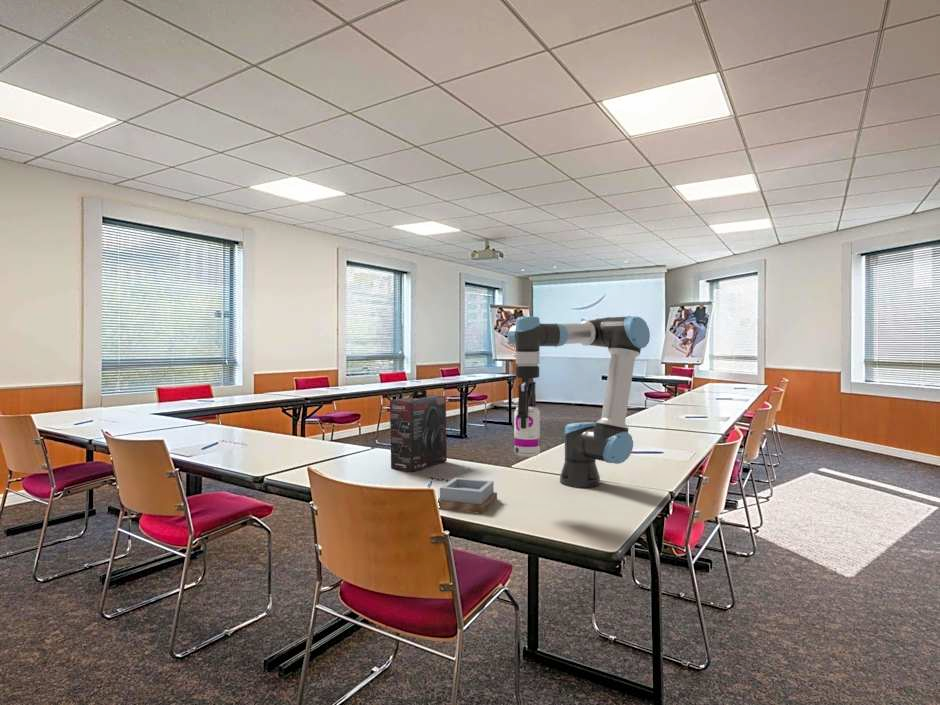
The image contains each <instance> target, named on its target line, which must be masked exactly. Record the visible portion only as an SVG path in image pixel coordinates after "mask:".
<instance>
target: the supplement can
mask: <svg viewBox="0 0 940 705" xmlns="http://www.w3.org/2000/svg"><path fill="white" fill-rule="evenodd" d="M513 415H514V416H513V417H514V418H513V419H514V426H513V427H514V430H513V432H514V435H513V436H514V439H513V440H514V441H513V442H514V444H513V445H514V448H513V449H514V450H513V451H514V453H515V454H516V456H520V457H524V458H525V457H528V458H530V457H531V458H532V457H537V456H538V455H539V454H541V411H540V409H539V407H538V406H536V407H533V406H529V408H528V418H529V439H520V418H517V415H518V406H516V407H515V410H514V414H513Z"/></svg>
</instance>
